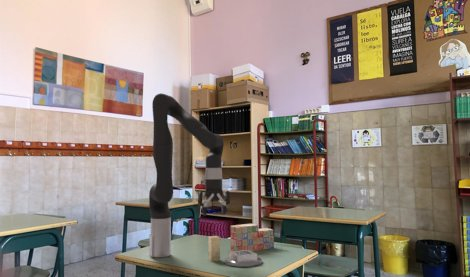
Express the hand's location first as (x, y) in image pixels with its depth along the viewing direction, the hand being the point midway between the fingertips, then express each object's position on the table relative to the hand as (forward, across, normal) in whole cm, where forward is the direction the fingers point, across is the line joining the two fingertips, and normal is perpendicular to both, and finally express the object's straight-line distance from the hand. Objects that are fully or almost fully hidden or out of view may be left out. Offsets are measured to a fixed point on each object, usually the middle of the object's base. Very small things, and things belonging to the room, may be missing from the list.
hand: (214, 214), depth 164 cm
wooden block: (+20, 0, 0) cm, 20 cm away
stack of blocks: (+20, +24, +12) cm, 33 cm away
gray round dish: (+20, +10, -9) cm, 24 cm away
